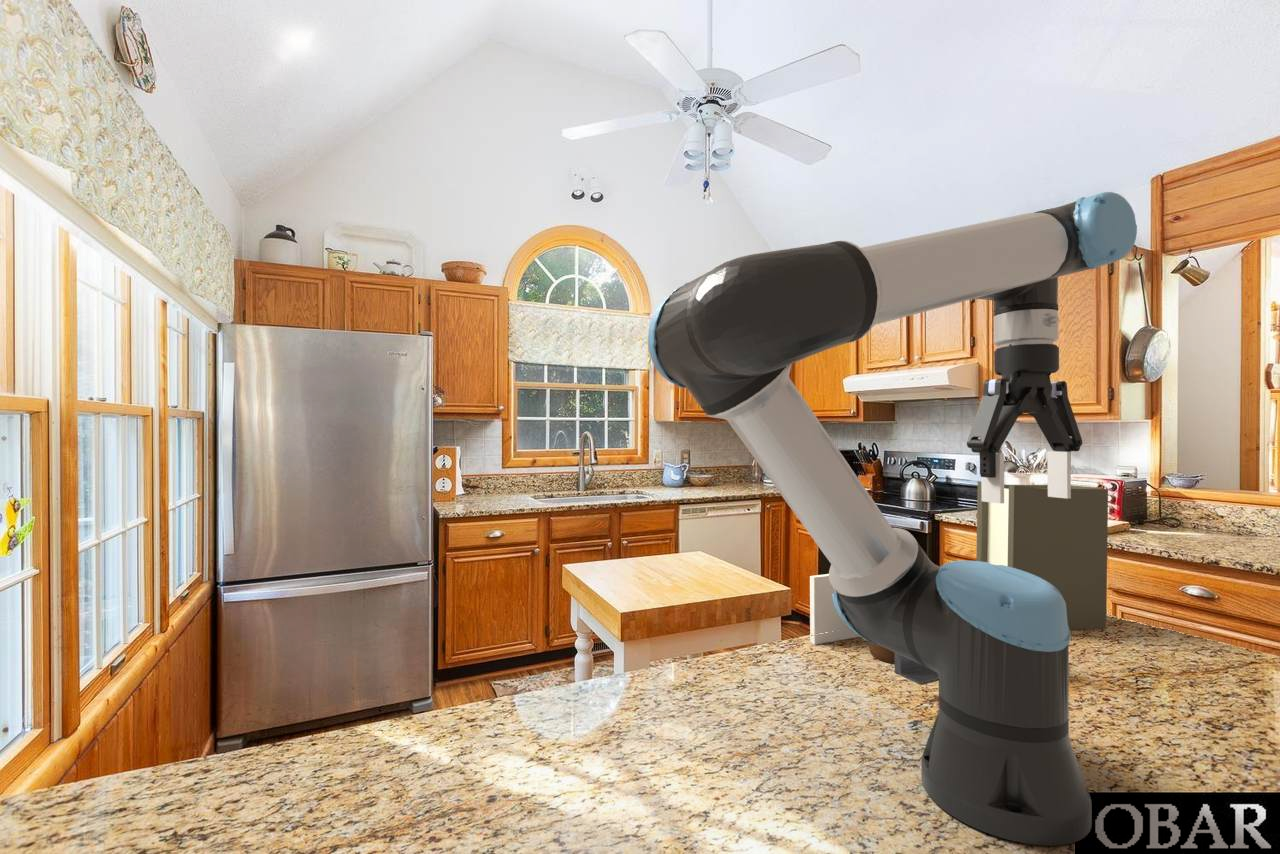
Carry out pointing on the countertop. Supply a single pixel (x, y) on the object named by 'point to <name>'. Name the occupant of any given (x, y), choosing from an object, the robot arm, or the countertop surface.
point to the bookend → (913, 670)
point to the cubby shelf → (825, 613)
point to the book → (1052, 543)
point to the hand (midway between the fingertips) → (1027, 500)
